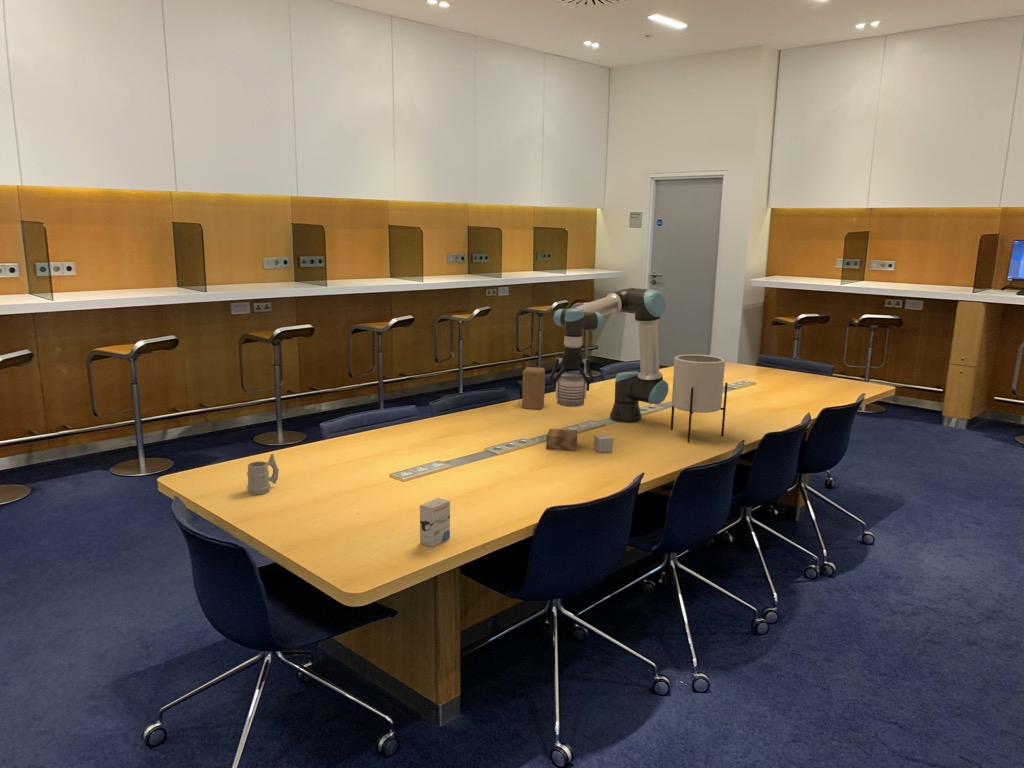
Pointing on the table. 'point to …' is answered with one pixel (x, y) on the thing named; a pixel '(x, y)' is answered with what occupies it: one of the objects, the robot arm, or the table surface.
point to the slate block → (603, 443)
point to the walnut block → (561, 439)
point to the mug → (261, 476)
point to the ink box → (434, 522)
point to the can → (571, 390)
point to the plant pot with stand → (698, 385)
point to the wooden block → (533, 388)
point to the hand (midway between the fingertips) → (570, 397)
